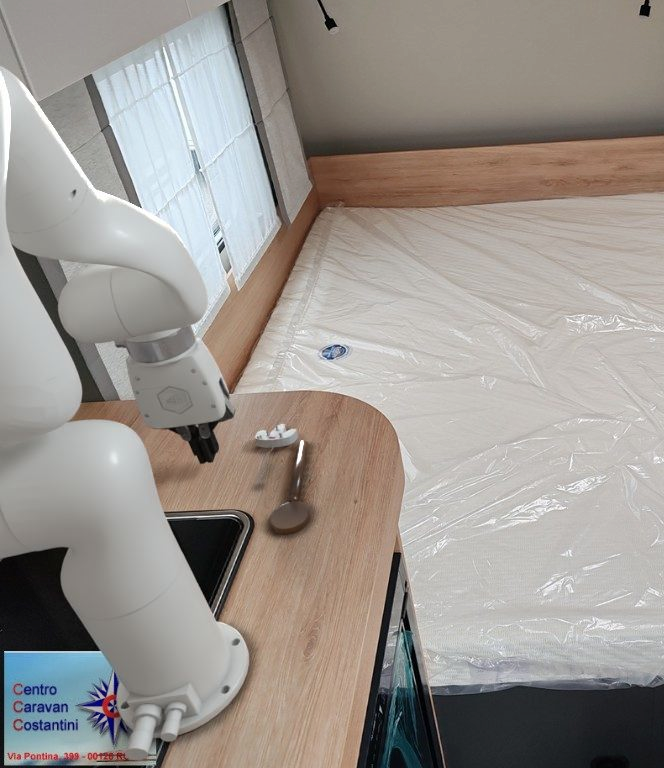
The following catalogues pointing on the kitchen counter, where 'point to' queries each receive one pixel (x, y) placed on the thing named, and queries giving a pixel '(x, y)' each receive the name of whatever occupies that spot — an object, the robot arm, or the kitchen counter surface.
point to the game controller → (275, 438)
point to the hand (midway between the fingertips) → (209, 456)
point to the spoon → (293, 499)
